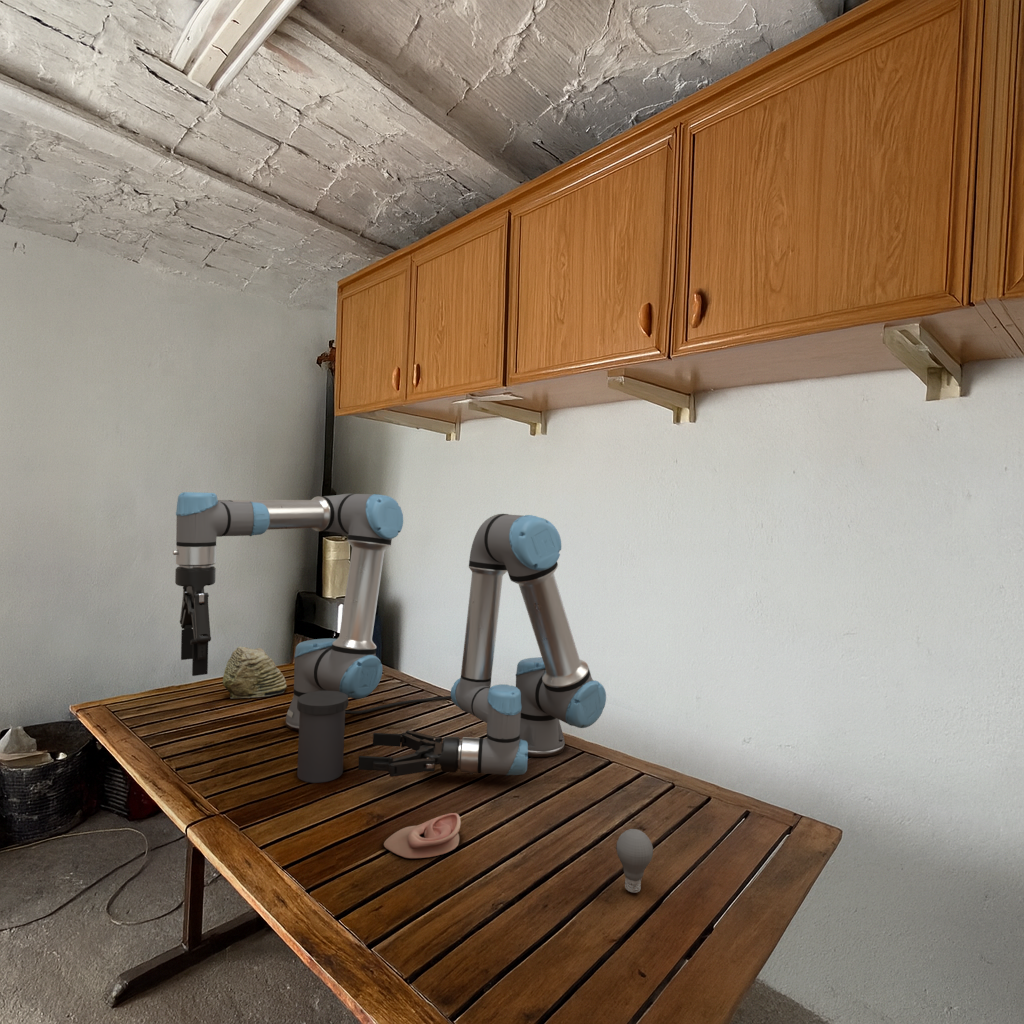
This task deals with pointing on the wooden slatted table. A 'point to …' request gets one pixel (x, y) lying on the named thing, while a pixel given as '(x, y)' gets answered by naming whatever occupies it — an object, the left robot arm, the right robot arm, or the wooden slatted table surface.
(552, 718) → the right robot arm
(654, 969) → the wooden slatted table surface
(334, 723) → the jar
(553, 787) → the wooden slatted table surface
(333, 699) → the lid
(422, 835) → the anatomical model
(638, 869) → the light bulb
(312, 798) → the wooden slatted table surface
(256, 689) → the fossil
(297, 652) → the left robot arm
